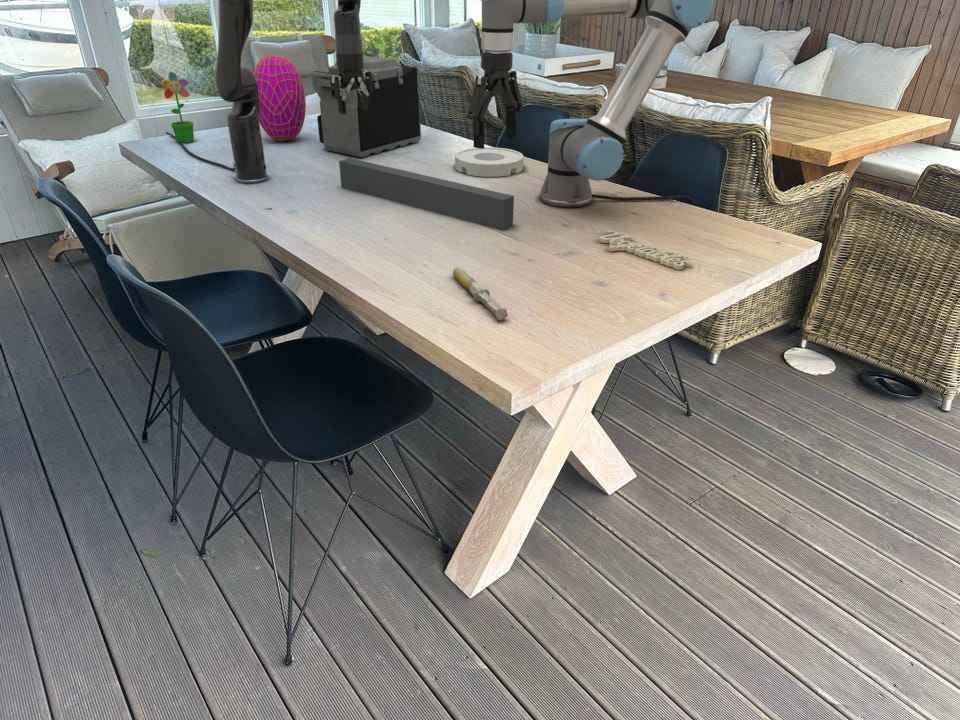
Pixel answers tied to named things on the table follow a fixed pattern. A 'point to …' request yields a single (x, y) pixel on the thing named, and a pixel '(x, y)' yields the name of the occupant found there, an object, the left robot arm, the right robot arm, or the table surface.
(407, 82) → the grey tool box
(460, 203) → the bar
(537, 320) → the table surface
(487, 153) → the ashtray
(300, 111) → the decorative egg
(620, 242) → the decorative sign
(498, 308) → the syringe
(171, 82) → the potted flower
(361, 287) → the table surface
